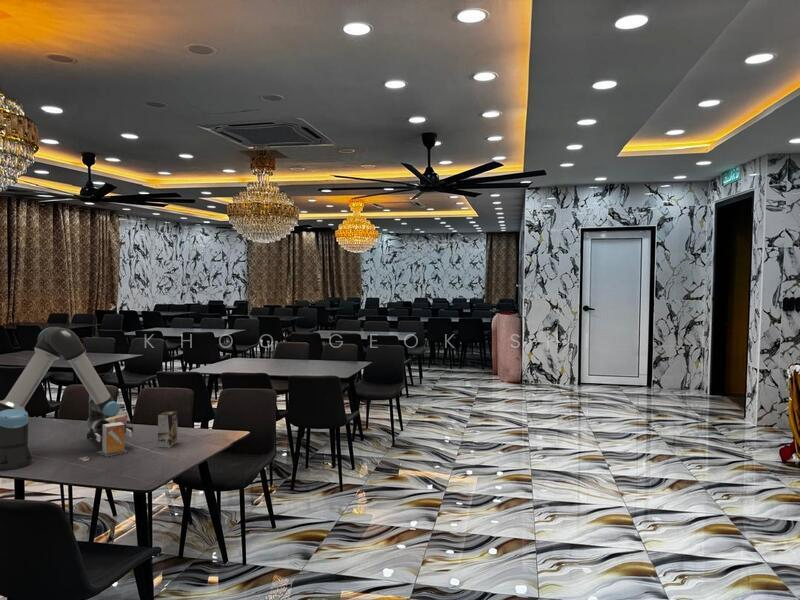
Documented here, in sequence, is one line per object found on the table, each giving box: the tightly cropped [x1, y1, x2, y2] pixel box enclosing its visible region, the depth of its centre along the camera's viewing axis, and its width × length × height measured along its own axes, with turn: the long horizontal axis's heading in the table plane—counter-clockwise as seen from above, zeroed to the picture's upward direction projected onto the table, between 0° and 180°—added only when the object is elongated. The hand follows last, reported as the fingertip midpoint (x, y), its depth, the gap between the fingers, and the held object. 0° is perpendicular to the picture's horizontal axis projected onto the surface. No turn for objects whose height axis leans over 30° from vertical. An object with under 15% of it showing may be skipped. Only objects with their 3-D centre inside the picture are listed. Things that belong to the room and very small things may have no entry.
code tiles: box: [78, 456, 90, 462], centre depth 256 cm, size 4×6×1 cm, turn 52°
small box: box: [101, 422, 126, 454], centre depth 266 cm, size 8×6×13 cm
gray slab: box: [96, 449, 130, 458], centre depth 266 cm, size 10×10×1 cm
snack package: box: [106, 414, 127, 426], centre depth 309 cm, size 21×7×7 cm, turn 166°
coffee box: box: [157, 410, 178, 449], centre depth 280 cm, size 9×6×16 cm
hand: (115, 436), depth 264 cm, fingers open, 13 cm apart
